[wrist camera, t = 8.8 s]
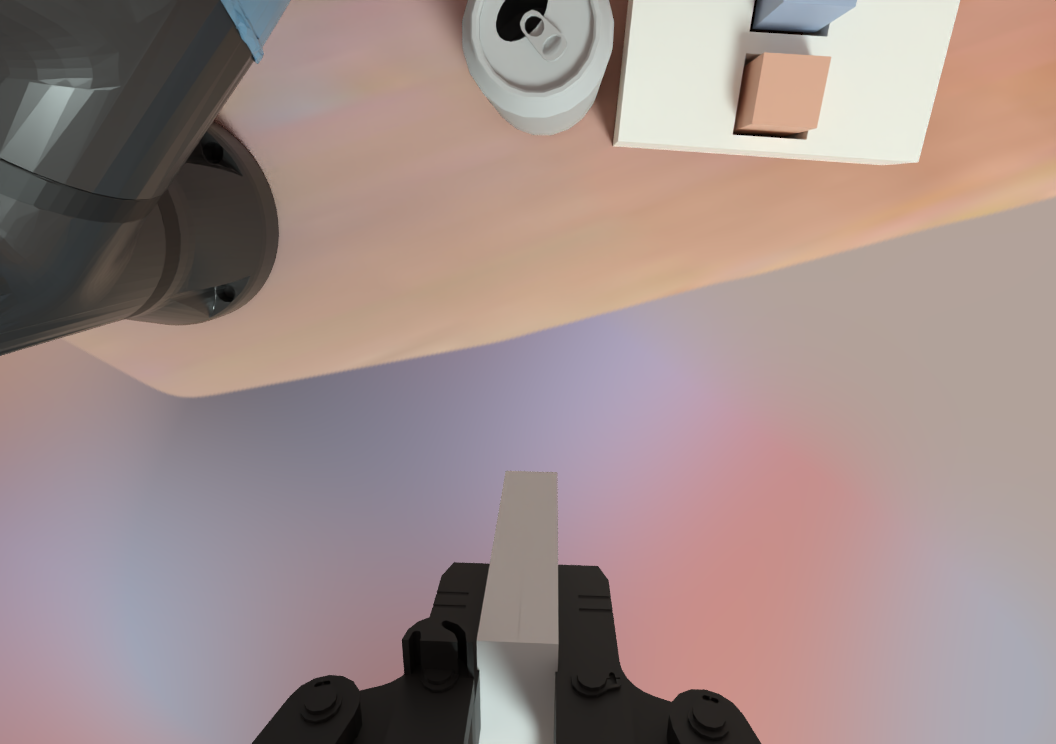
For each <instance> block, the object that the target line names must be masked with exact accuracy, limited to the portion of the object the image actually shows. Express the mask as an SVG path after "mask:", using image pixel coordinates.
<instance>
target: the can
mask: <svg viewBox="0 0 1056 744" xmlns="http://www.w3.org/2000/svg"><path fill="white" fill-rule="evenodd" d="M613 32H614V20H613V15H612V11H611V7H610V2H609V0H468V2H467V5H466V9H465V13H464V16H463V20H462V47H463V52H464V55H465V58H466V62H467V65H468V68H469V71H470V74H471V76H472V77H473V79H474V80H475V82H476V83H477V85H478V86H479V88H480V89H481V91H482V92H483V94H484V95H485V96H486V98H487V99H488V100H489V101H490V103H491V104H492V105H493V106H494V108H495V109H496V110H497V111H498V113H499V114H500V115H501V116H502V118H504V119H505V120H506V121H507V122H509V123H510V124H511V125H512V126H514V127H515V128H516V129H518V130H521V131H524V132H526V133H529V134H532V135H553V134H556V133H559V132H562V131H565V130H568V129H569V128H571V127H572V126H573V125H575V124H576V123H577V122H579V121H580V120H581V119H583V117H584V116H585V115H586V113H587V112H588V110H589V109H590V108H591V106H592V105H593V103H594V101H595V98H596V95H597V93H598V90H599V87H600V84H601V81H602V78H603V75H604V72H605V70H606V67H607V64H608V61H609V58H610V55H611V52H612V49H613Z"/></svg>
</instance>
